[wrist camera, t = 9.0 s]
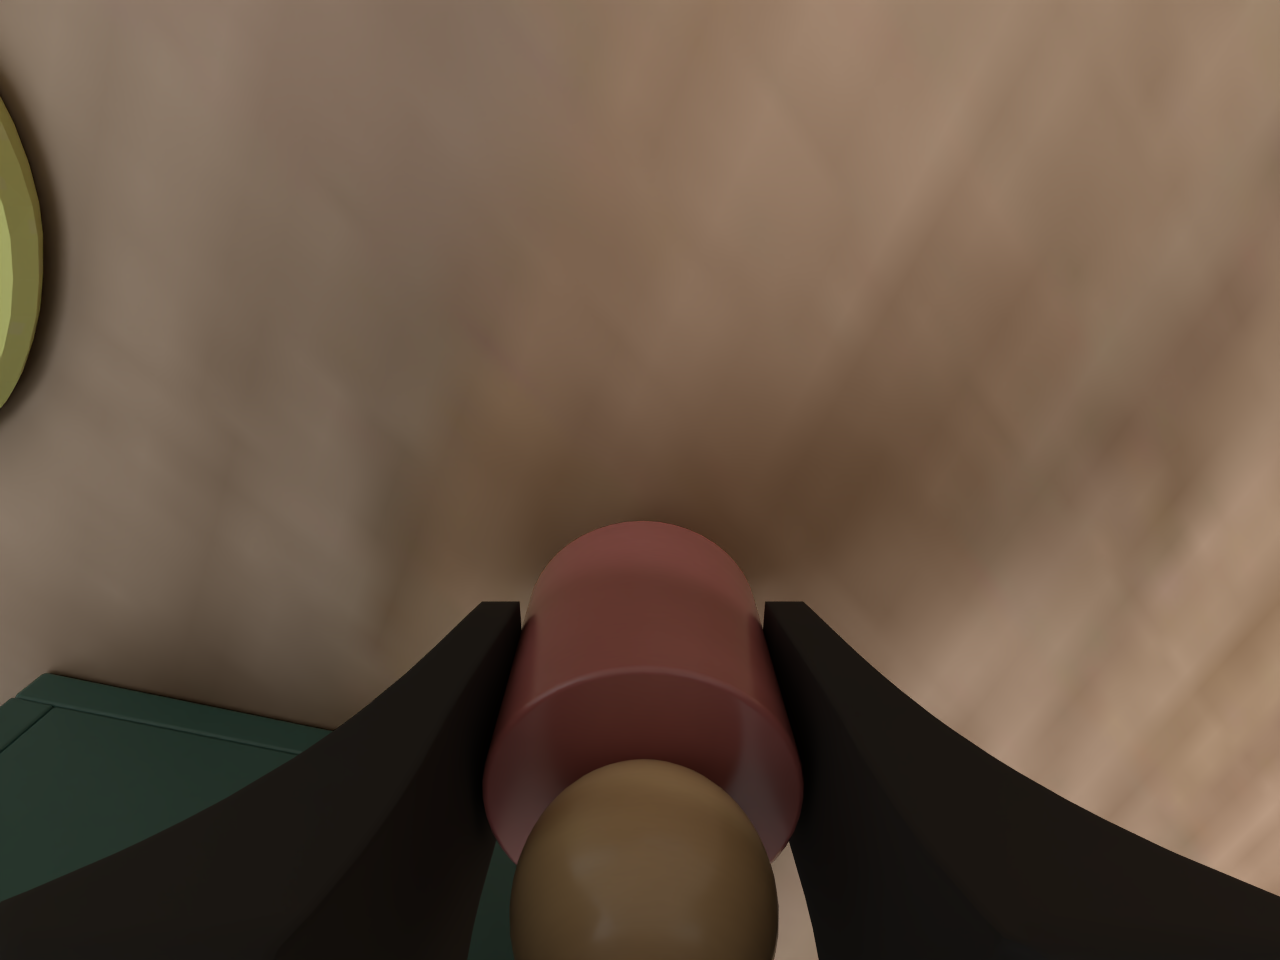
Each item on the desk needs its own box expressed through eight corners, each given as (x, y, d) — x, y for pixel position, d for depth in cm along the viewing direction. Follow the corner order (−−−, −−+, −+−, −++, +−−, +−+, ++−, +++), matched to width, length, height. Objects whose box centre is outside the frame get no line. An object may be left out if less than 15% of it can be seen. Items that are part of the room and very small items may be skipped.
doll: (642, 747, 13) (643, 1224, 7) (482, 621, 12) (318, 1051, 6) (801, 621, 12) (969, 1052, 6) (642, 471, 11) (645, 805, 5)
